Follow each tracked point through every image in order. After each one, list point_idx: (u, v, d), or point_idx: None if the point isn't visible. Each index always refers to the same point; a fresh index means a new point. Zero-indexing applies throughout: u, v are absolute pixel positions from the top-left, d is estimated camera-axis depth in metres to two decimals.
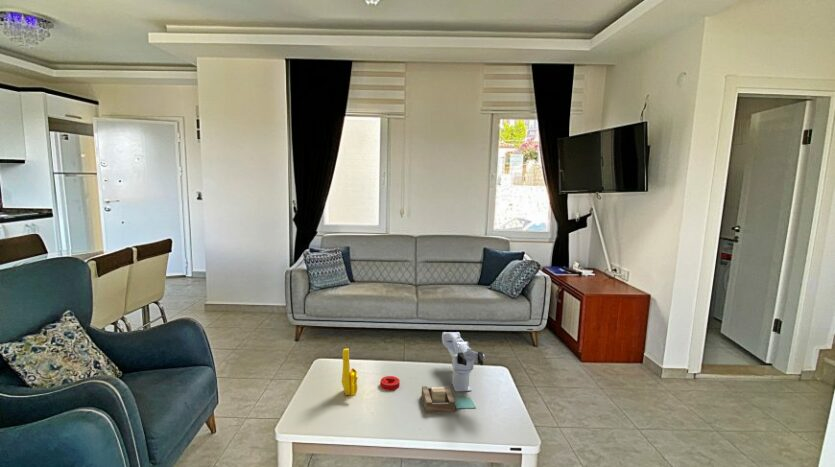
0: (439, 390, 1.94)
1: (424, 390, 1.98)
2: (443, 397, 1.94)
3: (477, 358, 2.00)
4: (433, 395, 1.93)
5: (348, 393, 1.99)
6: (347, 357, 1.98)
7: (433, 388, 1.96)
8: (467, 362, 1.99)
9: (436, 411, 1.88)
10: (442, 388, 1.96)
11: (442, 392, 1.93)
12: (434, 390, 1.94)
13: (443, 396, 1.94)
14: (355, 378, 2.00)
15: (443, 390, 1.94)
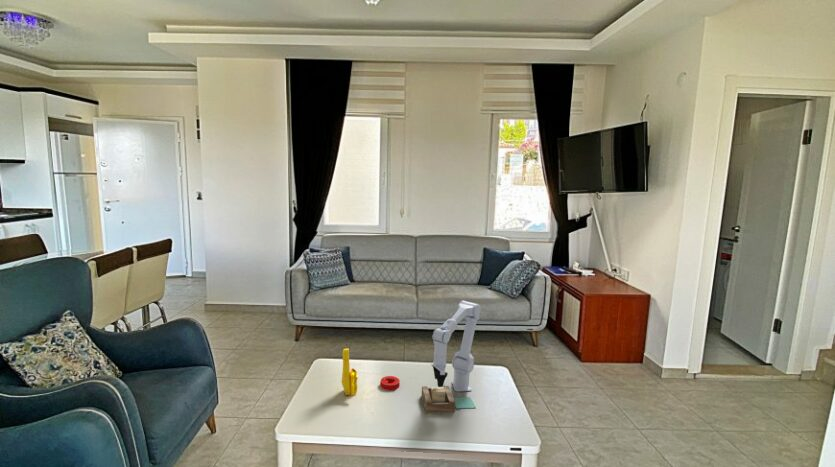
0: (439, 390, 1.94)
1: (424, 390, 1.98)
2: (443, 397, 1.94)
3: None
4: (433, 395, 1.93)
5: (348, 393, 1.99)
6: (347, 357, 1.98)
7: (433, 388, 1.96)
8: None
9: (436, 411, 1.88)
10: (442, 388, 1.96)
11: (442, 392, 1.93)
12: (434, 390, 1.94)
13: (443, 396, 1.94)
14: (355, 378, 2.00)
15: (443, 390, 1.94)
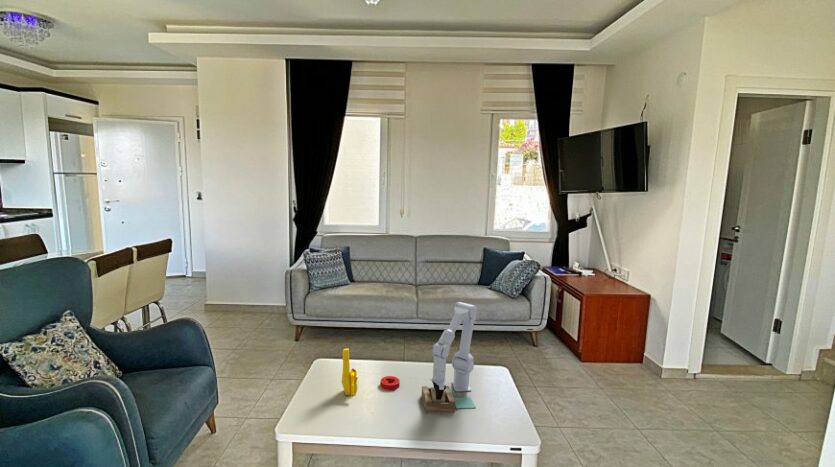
0: None
1: (424, 390, 1.98)
2: (443, 397, 1.94)
3: None
4: (433, 395, 1.93)
5: (348, 393, 1.99)
6: (347, 357, 1.98)
7: (433, 388, 1.96)
8: None
9: (436, 411, 1.88)
10: None
11: None
12: (434, 390, 1.94)
13: (443, 396, 1.94)
14: (355, 378, 2.00)
15: None
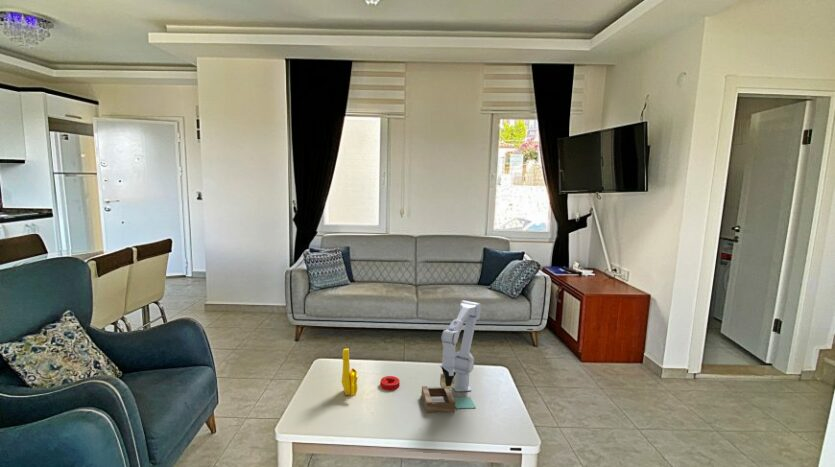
0: None
1: (424, 390, 1.98)
2: (452, 384, 1.93)
3: None
4: (442, 381, 1.93)
5: (348, 393, 1.99)
6: (347, 357, 1.98)
7: (442, 375, 1.95)
8: None
9: (436, 411, 1.88)
10: None
11: None
12: (443, 376, 1.93)
13: (452, 382, 1.93)
14: (355, 378, 2.00)
15: None
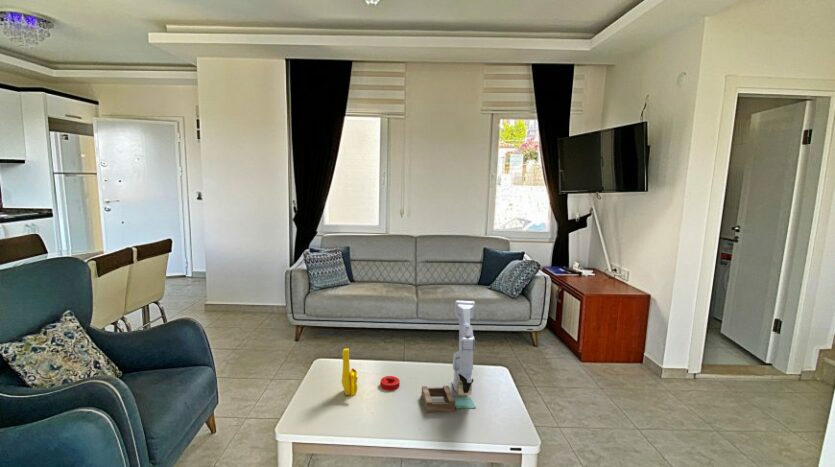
0: None
1: (424, 390, 1.98)
2: (469, 390, 1.94)
3: None
4: (460, 388, 1.94)
5: (348, 393, 1.99)
6: (347, 357, 1.98)
7: (459, 381, 1.96)
8: None
9: (436, 411, 1.88)
10: None
11: None
12: (460, 383, 1.95)
13: (469, 389, 1.94)
14: (355, 378, 2.00)
15: None
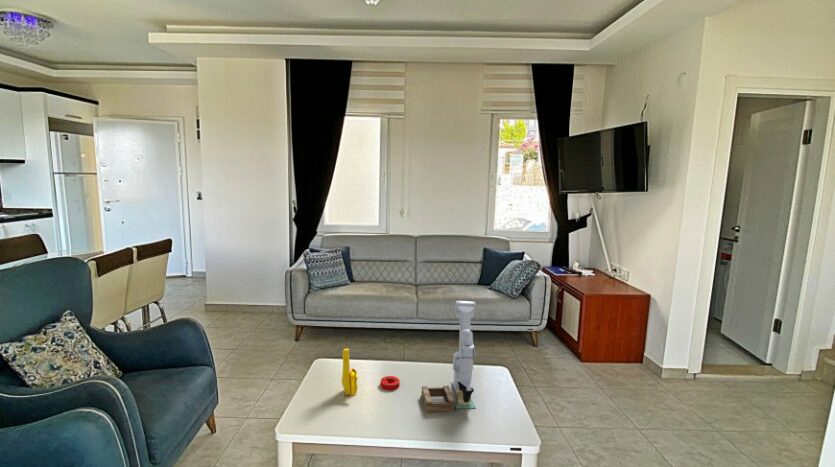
0: None
1: (424, 390, 1.98)
2: (469, 400, 1.95)
3: None
4: (459, 398, 1.94)
5: (348, 393, 1.99)
6: (347, 357, 1.98)
7: (459, 391, 1.97)
8: None
9: (436, 411, 1.88)
10: None
11: None
12: (460, 393, 1.95)
13: (469, 399, 1.95)
14: (355, 378, 2.00)
15: None
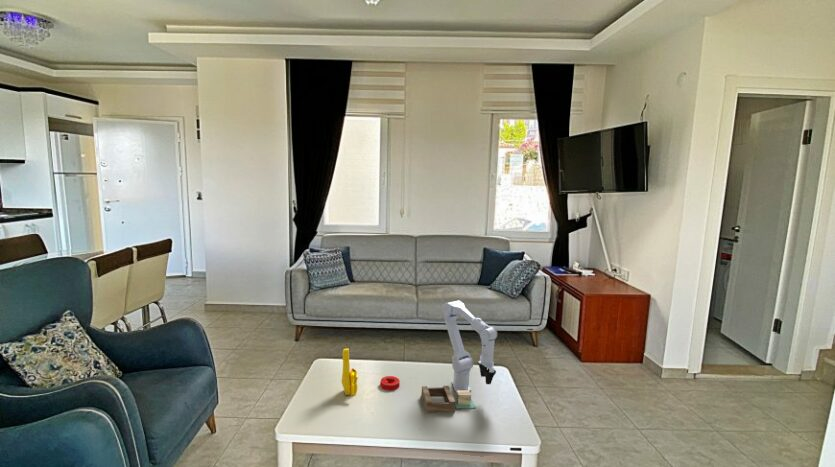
0: (465, 394, 1.95)
1: (424, 390, 1.98)
2: (469, 400, 1.95)
3: None
4: (459, 398, 1.94)
5: (348, 393, 1.99)
6: (347, 357, 1.98)
7: (459, 391, 1.97)
8: None
9: (436, 411, 1.88)
10: (468, 392, 1.97)
11: (468, 395, 1.95)
12: (460, 393, 1.95)
13: (469, 399, 1.95)
14: (355, 378, 2.00)
15: (469, 393, 1.96)
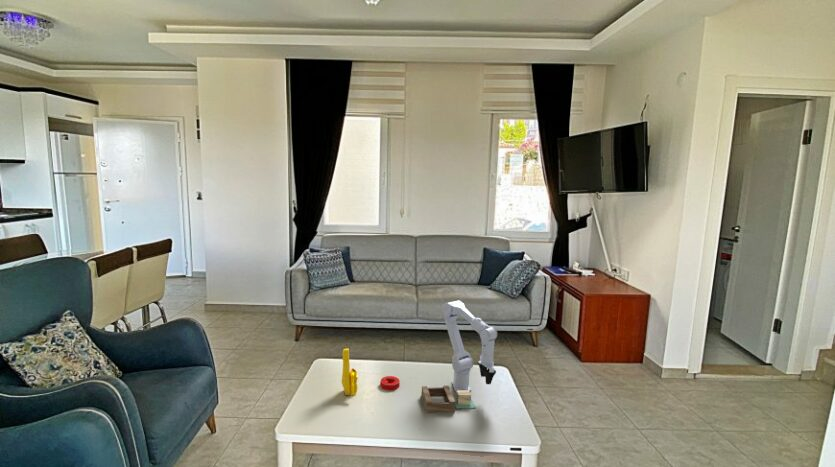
0: (465, 394, 1.95)
1: (424, 390, 1.98)
2: (469, 400, 1.95)
3: None
4: (459, 398, 1.94)
5: (348, 393, 1.99)
6: (347, 357, 1.98)
7: (459, 391, 1.97)
8: None
9: (436, 411, 1.88)
10: (468, 392, 1.97)
11: (468, 395, 1.95)
12: (460, 393, 1.95)
13: (469, 399, 1.95)
14: (355, 378, 2.00)
15: (469, 393, 1.96)
